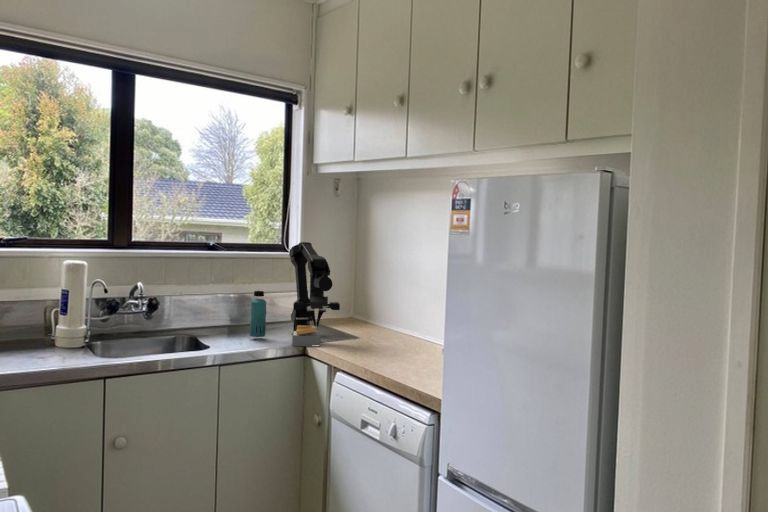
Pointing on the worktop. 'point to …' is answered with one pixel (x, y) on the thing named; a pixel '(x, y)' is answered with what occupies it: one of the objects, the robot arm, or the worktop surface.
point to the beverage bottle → (258, 316)
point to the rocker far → (303, 326)
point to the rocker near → (306, 330)
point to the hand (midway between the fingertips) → (316, 326)
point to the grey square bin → (306, 339)
